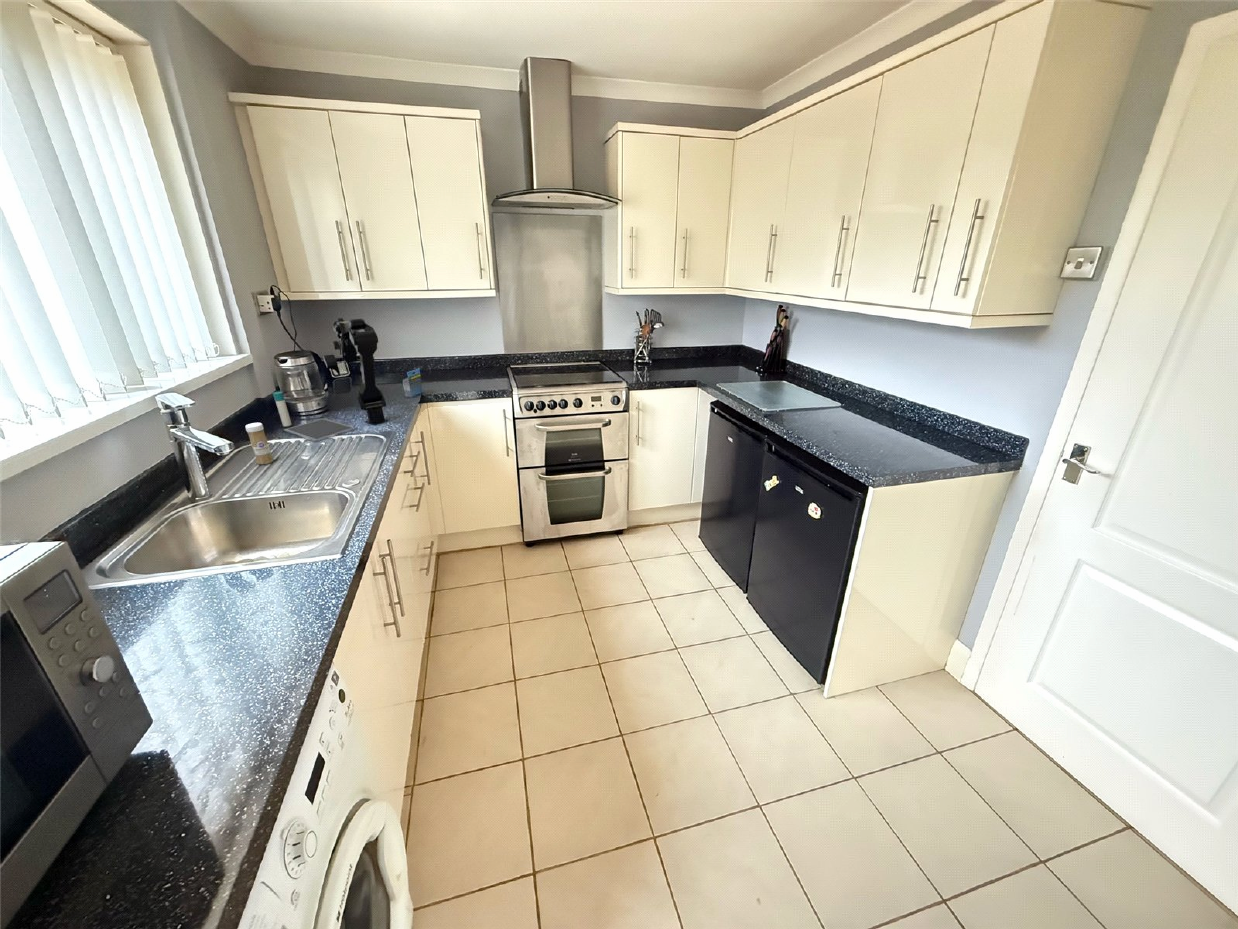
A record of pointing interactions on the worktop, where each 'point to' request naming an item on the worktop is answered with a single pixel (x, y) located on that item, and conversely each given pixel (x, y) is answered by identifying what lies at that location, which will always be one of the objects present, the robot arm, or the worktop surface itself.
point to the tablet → (319, 429)
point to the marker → (282, 409)
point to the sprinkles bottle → (259, 443)
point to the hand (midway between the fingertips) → (350, 373)
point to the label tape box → (412, 384)
